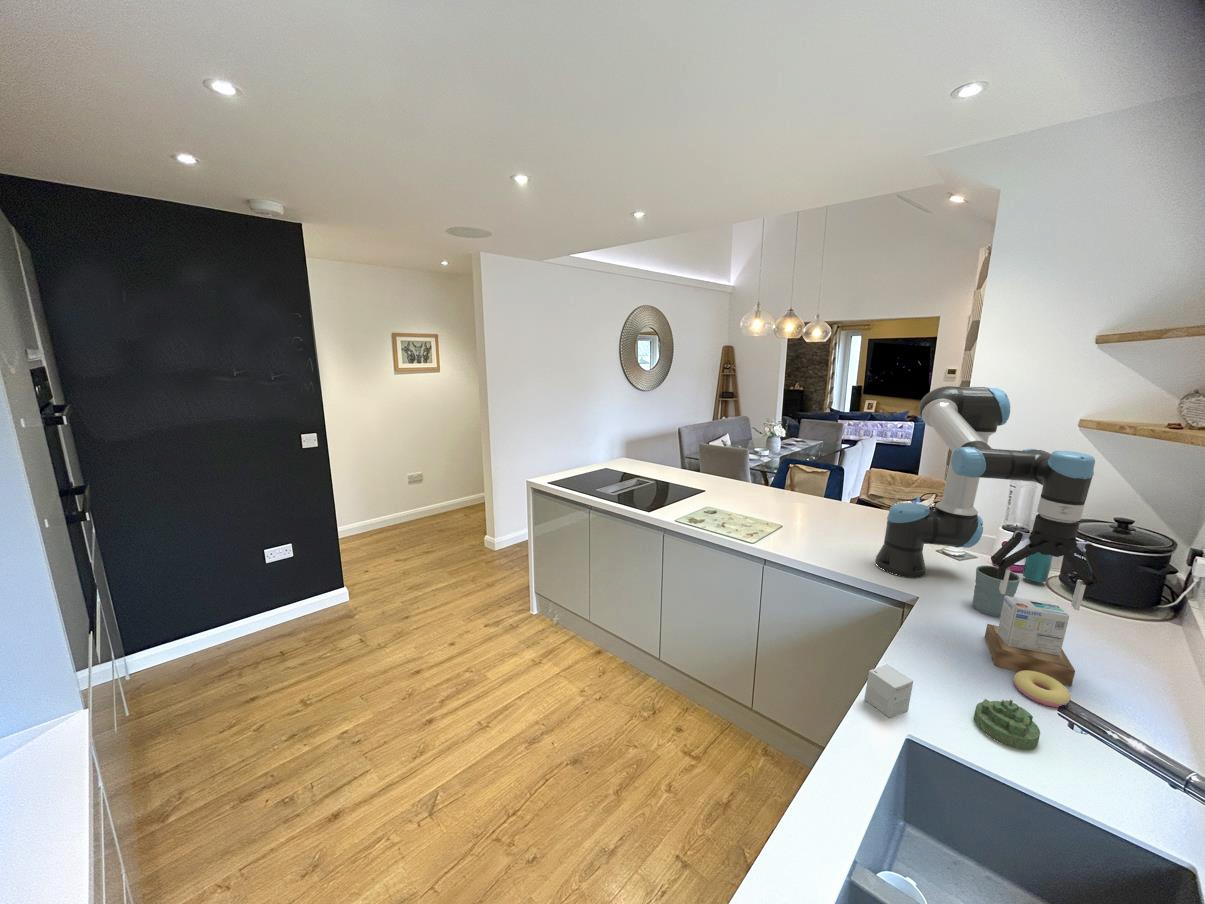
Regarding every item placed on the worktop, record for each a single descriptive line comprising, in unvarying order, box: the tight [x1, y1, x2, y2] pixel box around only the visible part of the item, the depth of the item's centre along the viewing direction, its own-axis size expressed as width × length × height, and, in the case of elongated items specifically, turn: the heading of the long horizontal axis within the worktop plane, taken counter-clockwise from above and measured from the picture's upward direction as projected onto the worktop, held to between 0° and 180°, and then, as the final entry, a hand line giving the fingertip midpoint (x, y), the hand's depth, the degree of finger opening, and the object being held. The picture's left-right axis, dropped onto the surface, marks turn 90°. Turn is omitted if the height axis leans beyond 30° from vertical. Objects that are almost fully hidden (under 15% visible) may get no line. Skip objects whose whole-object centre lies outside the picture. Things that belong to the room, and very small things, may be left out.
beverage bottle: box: [1022, 540, 1054, 583], centre depth 159 cm, size 6×7×20 cm
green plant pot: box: [972, 564, 1021, 618], centre depth 141 cm, size 10×10×12 cm
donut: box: [1013, 670, 1071, 708], centre depth 107 cm, size 10×5×9 cm
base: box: [984, 623, 1076, 687], centre depth 118 cm, size 14×14×4 cm
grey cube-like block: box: [864, 664, 914, 718], centre depth 102 cm, size 6×6×7 cm
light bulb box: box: [997, 596, 1070, 656], centre depth 117 cm, size 11×7×11 cm, turn 70°
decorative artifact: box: [973, 698, 1041, 751], centre depth 96 cm, size 10×7×10 cm
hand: (1037, 599), depth 116 cm, fingers open, 13 cm apart
